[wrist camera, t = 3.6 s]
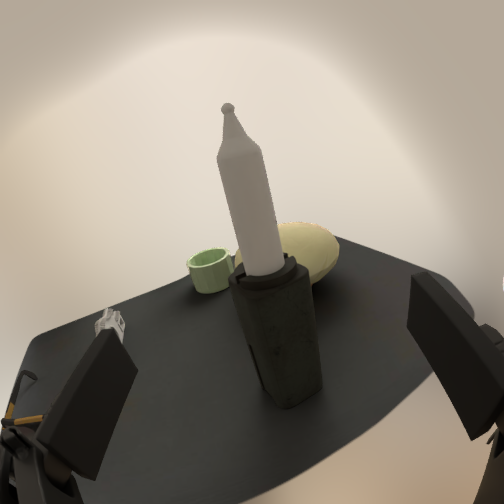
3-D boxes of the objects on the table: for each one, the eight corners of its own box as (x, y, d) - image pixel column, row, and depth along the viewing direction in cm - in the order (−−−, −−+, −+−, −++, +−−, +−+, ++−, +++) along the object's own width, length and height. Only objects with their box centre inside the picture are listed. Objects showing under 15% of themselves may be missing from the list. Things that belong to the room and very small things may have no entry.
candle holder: (242, 270, 52) (235, 245, 50) (226, 293, 45) (218, 266, 44) (206, 272, 55) (198, 249, 53) (187, 293, 48) (178, 268, 46)
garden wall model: (118, 327, 42) (102, 297, 40) (127, 324, 42) (112, 294, 40) (110, 375, 31) (88, 341, 29) (121, 372, 32) (99, 337, 29)
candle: (257, 382, 27) (179, 118, 17) (297, 359, 29) (244, 105, 19) (283, 413, 22) (200, 100, 13) (327, 385, 24) (280, 89, 15)
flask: (335, 254, 49) (354, 320, 33) (248, 267, 52) (231, 336, 36) (329, 204, 45) (352, 255, 29) (235, 220, 48) (210, 276, 32)
